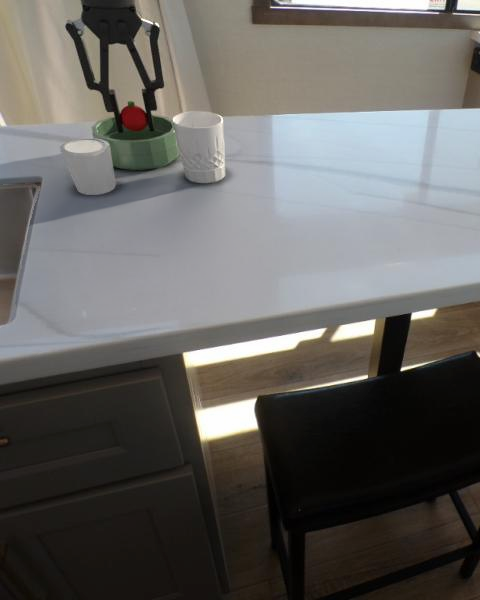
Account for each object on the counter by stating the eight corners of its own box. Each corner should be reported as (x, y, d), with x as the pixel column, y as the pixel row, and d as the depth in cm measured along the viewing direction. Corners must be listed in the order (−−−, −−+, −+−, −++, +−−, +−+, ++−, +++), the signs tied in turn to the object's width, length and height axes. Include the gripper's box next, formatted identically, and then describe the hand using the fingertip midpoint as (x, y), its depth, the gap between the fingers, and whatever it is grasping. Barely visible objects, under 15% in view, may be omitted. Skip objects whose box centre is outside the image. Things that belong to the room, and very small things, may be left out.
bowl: (82, 161, 91) (73, 131, 88) (135, 136, 102) (129, 108, 98) (148, 178, 89) (142, 148, 85) (196, 151, 99) (192, 123, 96)
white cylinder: (126, 190, 85) (116, 149, 81) (81, 200, 81) (68, 158, 77) (110, 174, 89) (100, 134, 84) (66, 183, 85) (53, 142, 80)
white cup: (204, 189, 88) (195, 131, 82) (171, 175, 91) (161, 118, 84) (238, 175, 93) (233, 119, 87) (207, 162, 96) (199, 107, 90)
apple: (117, 132, 91) (110, 103, 88) (134, 124, 94) (128, 96, 91) (139, 137, 90) (132, 108, 87) (155, 129, 93) (150, 101, 90)
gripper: (31, -24, 72) (79, 140, 86) (166, -18, 78) (190, 134, 92) (38, -32, 77) (82, 123, 92) (163, -25, 83) (186, 119, 98)
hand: (136, 128), depth 92 cm, fingers closed on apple, 4 cm apart
